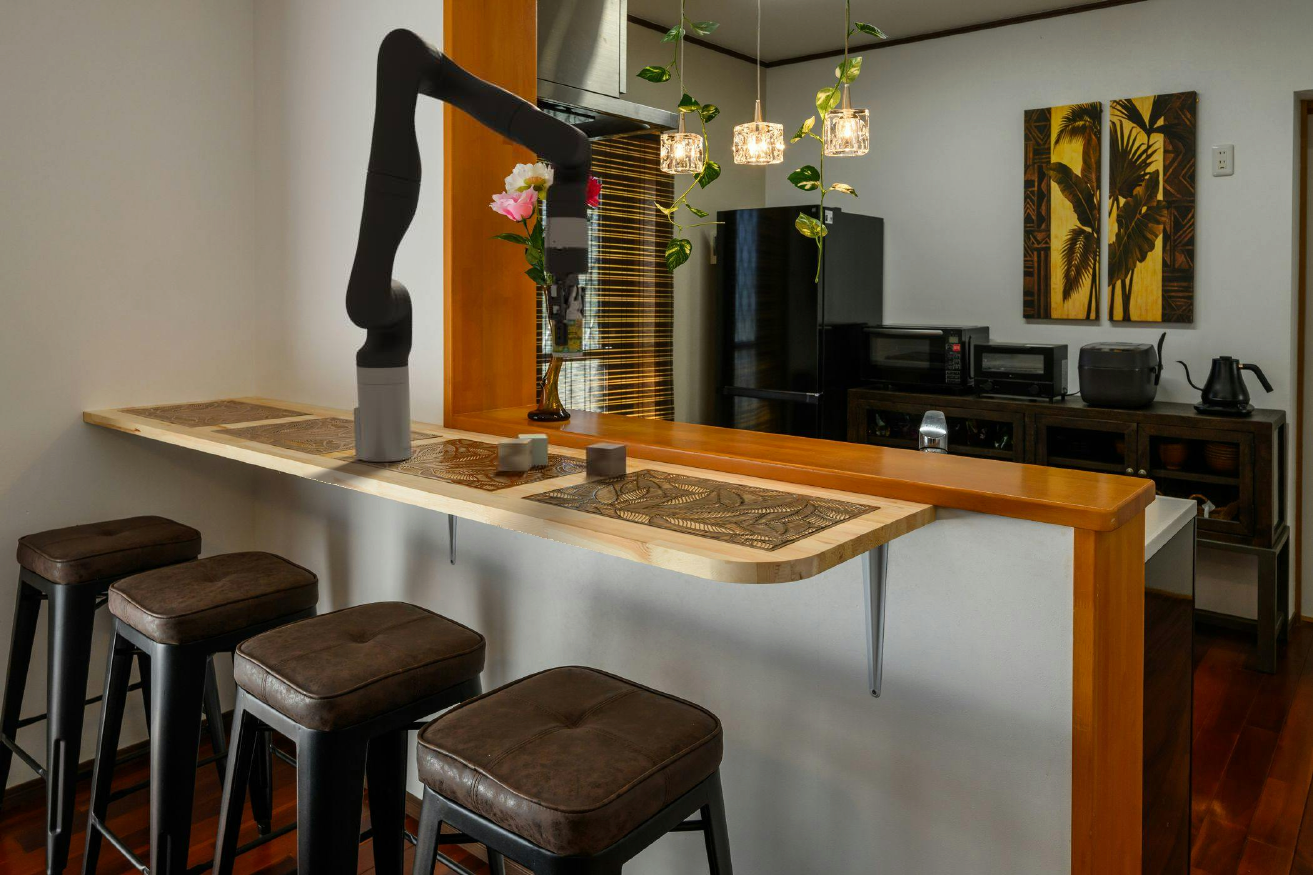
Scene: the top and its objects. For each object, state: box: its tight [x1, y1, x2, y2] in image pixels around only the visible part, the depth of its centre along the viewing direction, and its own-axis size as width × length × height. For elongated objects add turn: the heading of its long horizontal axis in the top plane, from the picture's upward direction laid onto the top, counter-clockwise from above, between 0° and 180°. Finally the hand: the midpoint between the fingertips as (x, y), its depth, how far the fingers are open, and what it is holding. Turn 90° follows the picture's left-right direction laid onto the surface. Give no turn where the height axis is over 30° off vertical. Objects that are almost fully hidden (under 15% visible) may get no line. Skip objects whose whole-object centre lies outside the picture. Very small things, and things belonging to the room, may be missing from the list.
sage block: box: [517, 433, 549, 466], centre depth 165 cm, size 5×5×5 cm
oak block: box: [497, 438, 533, 472], centre depth 160 cm, size 5×5×5 cm
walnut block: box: [585, 442, 627, 479], centre depth 155 cm, size 5×5×5 cm
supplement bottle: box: [551, 301, 584, 358], centre depth 157 cm, size 5×5×10 cm
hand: (567, 344), depth 157 cm, fingers closed on supplement bottle, 5 cm apart
